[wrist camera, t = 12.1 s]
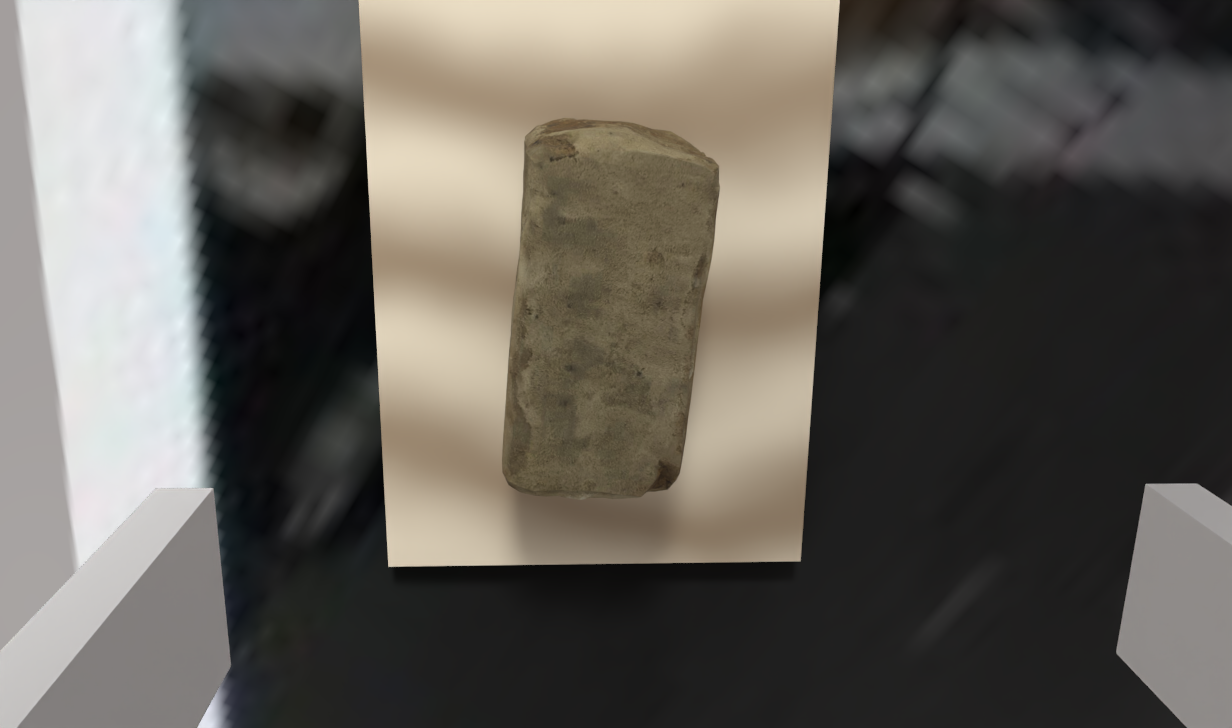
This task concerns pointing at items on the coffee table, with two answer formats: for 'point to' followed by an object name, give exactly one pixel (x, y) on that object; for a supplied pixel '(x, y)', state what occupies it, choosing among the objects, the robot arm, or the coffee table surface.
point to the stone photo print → (490, 243)
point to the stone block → (606, 308)
